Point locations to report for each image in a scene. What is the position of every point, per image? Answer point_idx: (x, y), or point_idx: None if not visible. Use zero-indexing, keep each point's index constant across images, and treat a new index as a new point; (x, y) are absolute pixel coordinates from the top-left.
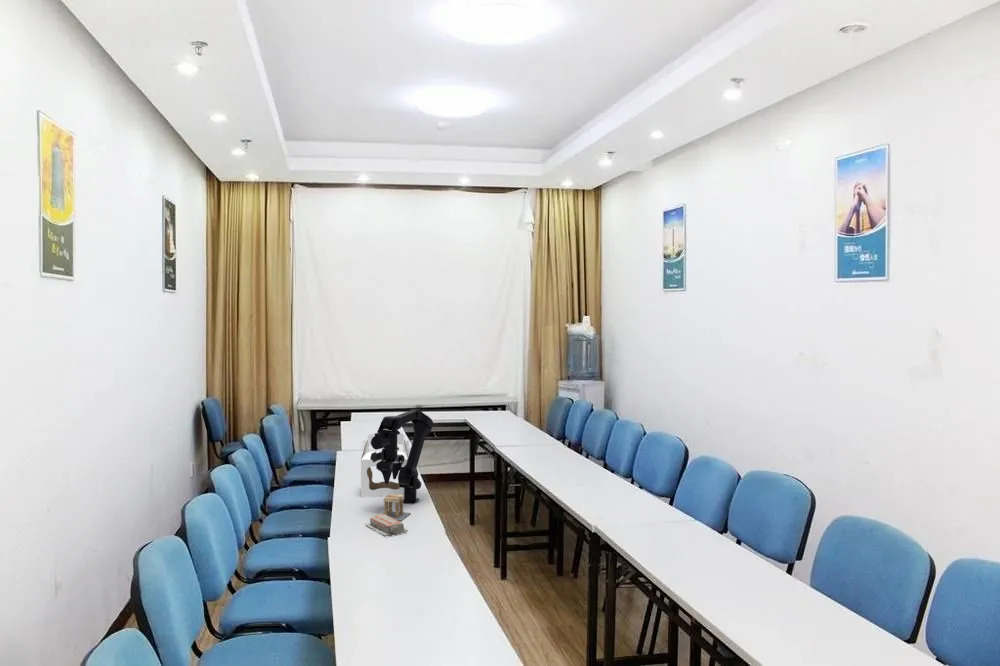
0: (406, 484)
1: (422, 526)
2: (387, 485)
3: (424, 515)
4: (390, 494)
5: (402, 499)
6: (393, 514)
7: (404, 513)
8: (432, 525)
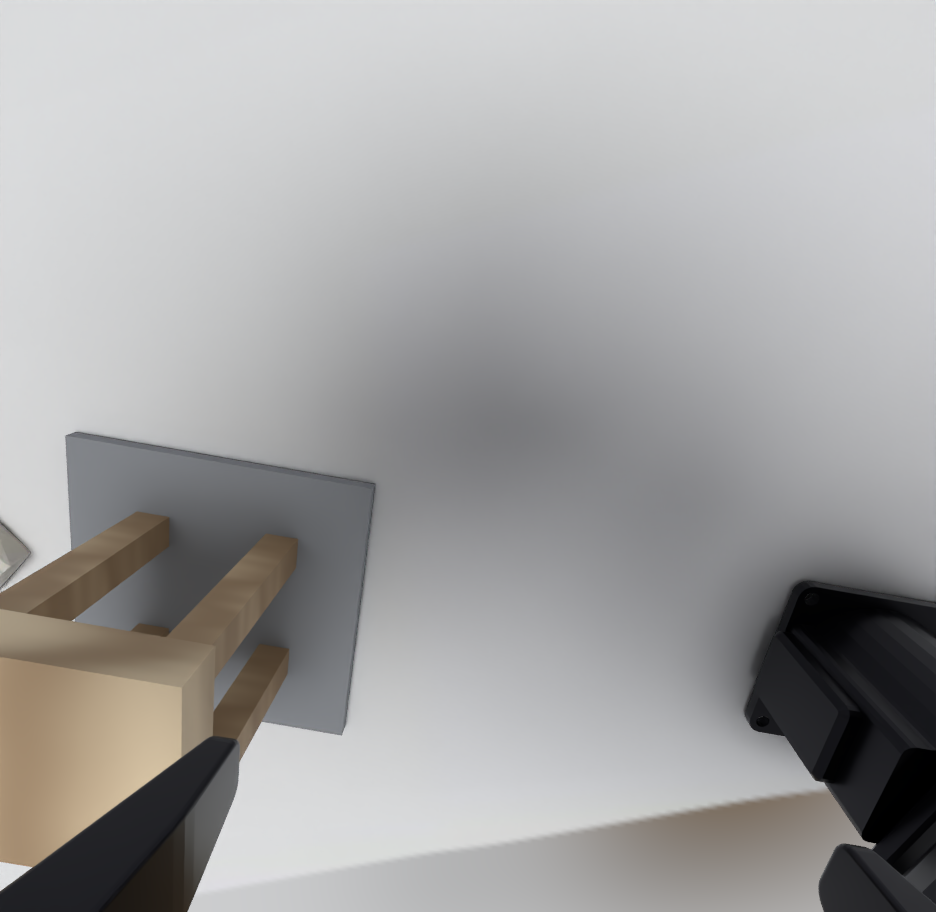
0: (912, 870)
1: None
2: None
3: (319, 833)
4: (158, 709)
5: None
6: None
7: (305, 685)
8: None
